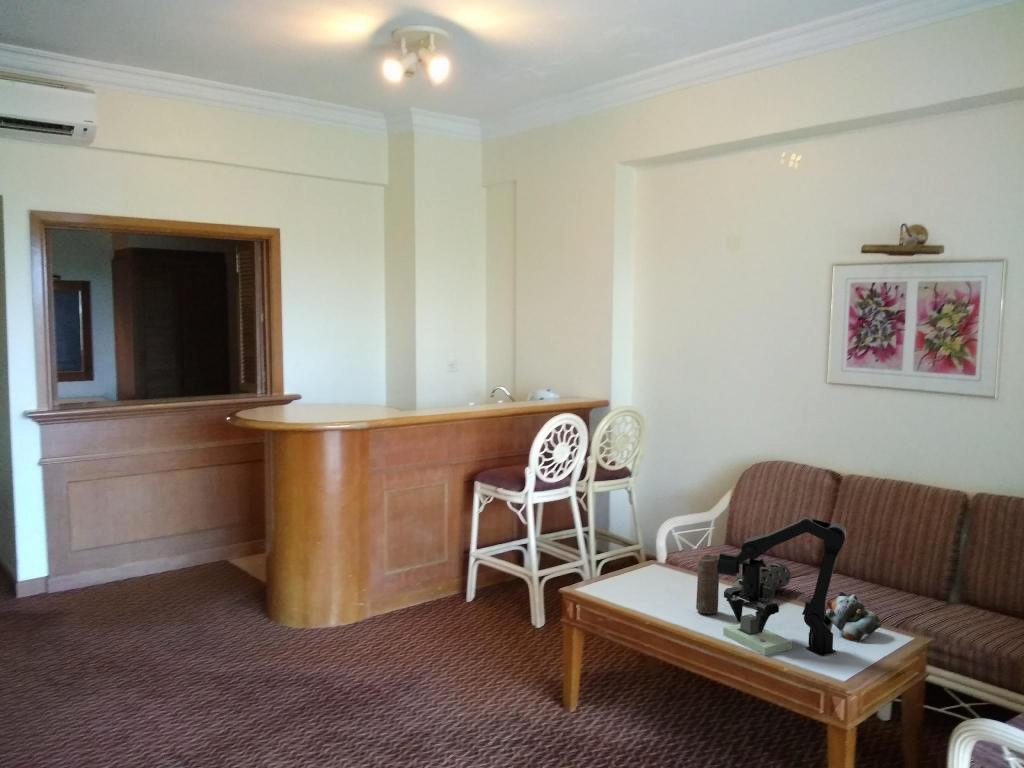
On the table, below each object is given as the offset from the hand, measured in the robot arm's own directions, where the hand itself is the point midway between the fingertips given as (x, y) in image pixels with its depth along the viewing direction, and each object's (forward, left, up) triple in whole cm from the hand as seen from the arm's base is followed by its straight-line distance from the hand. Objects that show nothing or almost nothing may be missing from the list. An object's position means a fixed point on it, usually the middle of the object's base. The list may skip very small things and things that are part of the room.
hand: (749, 626), depth 253 cm
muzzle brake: (+28, -33, -4) cm, 43 cm away
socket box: (-3, 0, -4) cm, 5 cm away
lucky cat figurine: (-12, -33, -4) cm, 35 cm away
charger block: (0, 0, -4) cm, 4 cm away
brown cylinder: (+24, -4, -4) cm, 25 cm away
